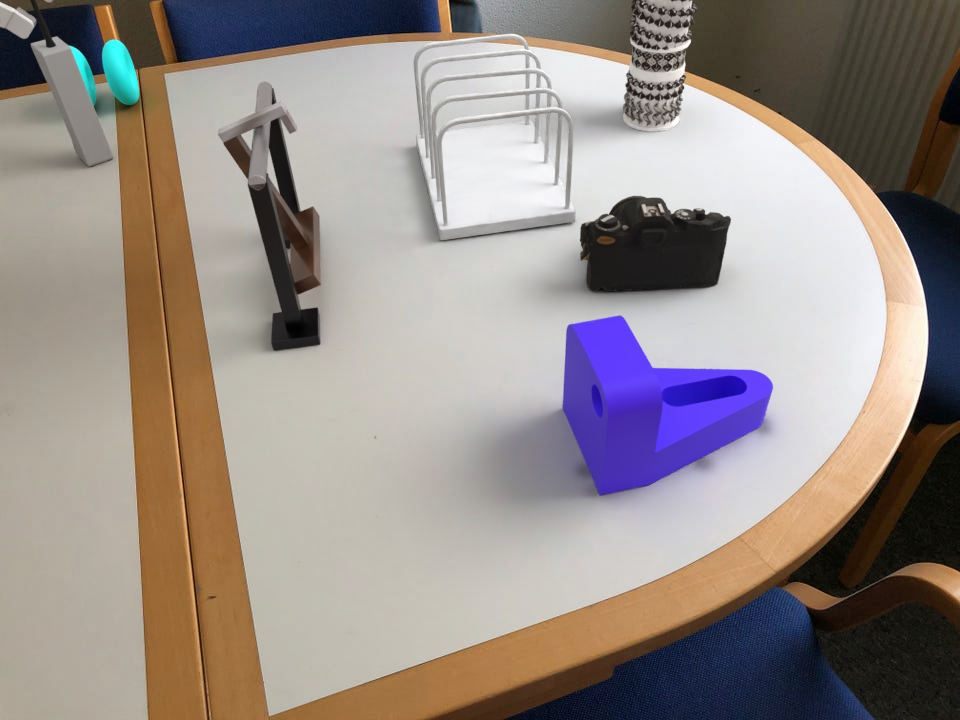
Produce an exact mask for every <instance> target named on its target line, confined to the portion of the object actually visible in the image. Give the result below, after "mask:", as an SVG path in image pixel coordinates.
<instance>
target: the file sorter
mask: <svg viewBox="0 0 960 720" xmlns="http://www.w3.org/2000/svg"><path fill="white" fill-rule="evenodd" d="M505 40H515V41H518V42H520V43H521V44H522V45H523V47H524V48H519V49H508V50H497V51H485V52H476V53H466V54H465V53H464V54H455V55H454V54H453V55H445V56H439V57H438V56H437V57H435V58H432V59H430V60H429V61H428V62H426V64H425V65H424V67H423V68H422V71H421V73H420V76H419V66H418V65H419V59H420V57H421V55H422V54H423V53H424V52H425V51H428V50H430V49H435V48H443V47H453V46H459V45H461V46H462V45H470V44H477V43H478V44H479V43H487V42H496V41H505ZM521 55H522V56H524V55H525V58H524V59H525V68H513V69H501V70H500V69H499V70H490V71H488V70H487V71H478V72H477V71H476V72H467V73H466V72H465V73H457V74H455V73H454V74H445V75H442V76H439V77H437V78H435V80H433V81H432V82H431V83H430V85H429V86H428V88H426V76H427V74H428V72H429V70H430V69H431V68H432V67H433V66H435V65H437V64H440V63H448V62H449V63H451V62H459V61H467V60H468V61H469V60H476V59H477V60H479V59H488V58H498V57H500V58H501V57H509V56H510V57H511V56H521ZM530 58H532V59H533V61H534V62H535V66H536V67H531V66H530V65H531V64H530ZM541 65H542V64H541V60H540V59H539V57H538V56H537V54H535V52H533V51H532V50H530V47H529V44H528V42H527V41H526V39H525V38H523V37H522V36H521V35H519V34H516V33H505V34H504V33H503V34H496V35H486V36H478V37H477V36H476V37H469V38H468V37H467V38H458V39H452V40H451V39H450V40H443V41H433V42H428V43H426V44H423V45H422V46H421V47H420V48H418V49H417V51H416V52H415V54H414V57H413V73H414V83H415V85H414V86H415V94H416V103H417V114H418V121H419V134H416V135H415V142H416V143H415V144H416V148H417V152H418V156H419V159H420V160H419V161H420V164H421V167H422V171H423V176H424V179H425V185H426V188H427V192H428V195H429V196H428V197H429V200H430V204H431V209H432V213H433V218H434V221H435V225H436V229H437V233H438V234H437V235H438V238H439V240H440V241H446V240H454V239H455V240H456V239H461V238H462V239H463V238H467V237H476V236H480V235H489V234H490V235H491V234H496V233H503V232H509V231H510V232H512V231H517V230H524V229H531V228H540V227H545V226H547V227H548V226H554V225H561V224H569V223H574V222H576V221H577V219H576V217H577V214H576V213H577V210H576V208H575V206H574V204H573V202H572V200H571V189H572V171H573V170H572V169H573V152H574V121H573V118H572V116H571V115H570V114H569V112H567V111H566V110H565V109H564V107H563V101H562V99H561V96H560V94H559V93H557V91H555V90H554V89H553V84H552V81H551V80H552V79H551V78H550V76H549V75H548V74H547V72H546V71H544V70H543V69H542V66H541ZM530 74H533V75H534V74H535V75H536V84H535V87H531V88H530V78H531V77H530V76H531V75H530ZM517 75H518V76H519V75H525V88H520V89H519V88H518V89H507V90H500V91H499V90H497V91H488V92H487V91H486V92H477V93H466V94H456V95H449V96H446V97H444V98H442V99H441V100H440V101H439V102H437V104H436V105H434V107H433V110H432V95H433V92H434V90H435V88H436V87H438V85H440V84H443V83H445V82H452V81H462V80H463V81H465V80H472V79H485V78H494V77H495V78H496V77H509V76H517ZM542 78H544V80H545V82H546V87H541V85H542V84H541V83H542ZM426 89H427V91H426ZM541 94H546V107H541ZM530 95H535V106H534V107H535V108H531V109H530ZM517 96H525V109H523V110H513V111H506V112H497V113H487V114H480V115H479V114H478V115H472V116H471V115H470V116H463V117H458V118H454V119H451V120H449V121H447V122H446V123H445V124H443V126H442V127H441V128H440V129H439V131H438V130H437V115H438V113H439V111H440V110H441V108H443V107H444V106H445V105H447V104H449V103H453V102H465V101H474V100H485V99H496V98H506V97H507V98H508V97H517ZM553 98H554V99H555V100H556V103H557V106H552V102H553V101H552V99H553ZM544 114H545V134H544V142H543V140H542V138H541V135H540V115H544ZM552 114H557V121H556V123H557V124H556V141H555V142H556V143H555V158H554V162H553V160H552V157H551V156H550V154H549V153H550V139H551V138H550V134H551V120H552V119H551V116H552ZM530 116H534V121H532V120H530ZM520 117H525V120H522V121H515V122H507V123H499V124H498V123H497V124H491V125H483V126H482V125H481V126H474V127H466V128H458V129H452V128H453V127H454V126H458V125H463V124H471V123H480V122H486V121H487V122H488V121H494V120H495V121H496V120H504V119H511V118H520ZM563 117H564V118H565V119H566V121H567V125H568V129H567V131H568V133H567V157H566V158H567V159H566V173H565V174H566V175H565V176H566V177H565V178H566V179H565V182H566V183H565V185H564V183H563V181H562V179H561V177H560V164H561V163H560V162H561V148H562V147H561V145H562V132H563V131H562V130H563Z"/></svg>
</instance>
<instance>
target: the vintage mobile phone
mask: <svg viewBox="0 0 960 720" xmlns="http://www.w3.org/2000/svg"><path fill="white" fill-rule="evenodd" d="M29 1H30V3H31V6H32V8H33V11H34V13H35V16H36V21H37V23H38V26H39V28H40V31H41V33H42V36H43V38H44V39H42V40H39V41H34V42H31V43H30V47H31V50H32V52H33V54H34V56H35V59H36V61H37V63H38V65H39V69H40V70H41V72H42V75H43V77H44V79H45V82H46V84H47V85H48V88H49V89H50V91H51V94H52V96H53V99H54V101H55V104H56V105H57V108H58V111H59V113H60V116H61V118H62V120H63V122H64V124H65V128H66V130H67V132H68V134H69V137H70V139H71V143H72V146H73V150H74V151H75V154H76V155H77V156H78V157H79V158H80V159H81V161H83V162H84V164H86V165H87V167H89V168H91V167H94V166H97V165H100V164H103V163H105V162H108V161H111V160H113V159H114V156H113V153H112V150H111V148H110V144H109V143H108V140H107V137H106V135H105V132H104V129H103V128H102V125H101V123H100V119H99V117H98V115H97V112H96V110H95V105H94V106H93V104H92V101H91V99H90V96H89V93H88V91H87V88H86V86H85V83H84V81H83V78H82V75H81V73H80V70H79V68H78V65H77V62H76V60H75V57H74V55H73V52H72V50H71V48H70V47H69V46H70V45H69V44H67V43H66V42H65V41H63V40H62V39H61V38H59V36H53V37H52V35H51V32H50V30H49V28H48V25H47V23H46V20H45V19H44V17H43V15H42V12H41V11H40V8H39V6H38V3H37V1H36V0H29Z"/></svg>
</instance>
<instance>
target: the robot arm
mask: <svg viewBox="0 0 960 720" xmlns="http://www.w3.org/2000/svg"><path fill="white" fill-rule="evenodd" d="M43 1H44V2H46V3H49V4H50V3H53V1H54V0H43ZM37 23H38V20H37V18H35V16H33V15H32V14H29V13H28V12H27V11H26V10H24V9H23V8H22V7H20V6H18V7H17V8H14V7H12V6H9V5H7V4H6V3H3V2H1V1H0V28H2V29H6V30H8V31H9V32H11V33H12V34H14V35H16V36H17V37H18V38H21V39H23V40H25V39H28V38H29V37H30V35H31V33H32V32H33V30H34V28H35V27H36V25H37Z"/></svg>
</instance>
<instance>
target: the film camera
mask: <svg viewBox="0 0 960 720" xmlns="http://www.w3.org/2000/svg"><path fill="white" fill-rule="evenodd" d="M731 222H732V218H731V216H729V215H725V216H724V215H722V213H720V212H717V211H716V212H714V211H713V212H712V211H709V212H708V213H707V214H706V210H705V209H704V208H701V207H700V208H698V207H697V208H693V210H691V209H689V208H679V209H676V210H675V211H674V212H673V213H672V212H671V209H669V208H668V206H667V203H666V201H664V198H661V197H646V196H644V195H643V196H642V195H631V196H628V197H625V198H623V199H621V200H619V201H618V202H616V203H615V204H614V205H613V206H612V208H611V209H610V211H609V213H603V214H601V215H600V216H599V217H598V218H596V219H595V220H591V221H590V220H589V221H587V222H583V223H581V225H580V228H579V229H580V230H579V237H580V238H579V242H580V247H581V249H582V250H581V251H580V253H579V254H580V255H579V258H580V261H586V273H585V281H586V285H587V288H588V289H589V290H591V291H594V292H599V291H600V289H604V290H605V291H607V292H624V291H640V290H641V291H642V290H643V291H646V290H648V291H649V290H663V289H665V290H668V289H679V288H686V289H688V288H689V289H690V288H704V287H709V286H715V285H718V283H719V280H720V276H721V272H722V267H723V261H724V255H725V250H726V247H727V241H728V232H729V229H730V226H731Z"/></svg>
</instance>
